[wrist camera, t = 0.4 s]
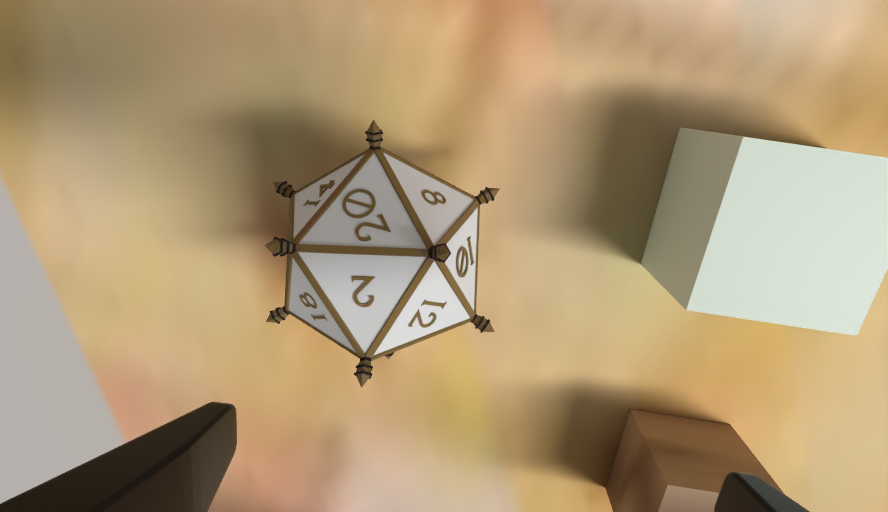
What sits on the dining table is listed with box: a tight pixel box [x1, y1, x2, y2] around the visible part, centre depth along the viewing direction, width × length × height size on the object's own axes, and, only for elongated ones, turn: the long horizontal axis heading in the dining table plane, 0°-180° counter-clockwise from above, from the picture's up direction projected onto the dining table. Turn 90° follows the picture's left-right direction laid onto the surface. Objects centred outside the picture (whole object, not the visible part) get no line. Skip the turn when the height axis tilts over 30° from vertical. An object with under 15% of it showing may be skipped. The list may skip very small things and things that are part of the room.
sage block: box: [641, 127, 888, 336], centre depth 18 cm, size 6×6×5 cm
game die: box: [265, 120, 499, 387], centre depth 18 cm, size 9×8×10 cm
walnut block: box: [606, 409, 785, 512], centre depth 22 cm, size 5×5×5 cm
